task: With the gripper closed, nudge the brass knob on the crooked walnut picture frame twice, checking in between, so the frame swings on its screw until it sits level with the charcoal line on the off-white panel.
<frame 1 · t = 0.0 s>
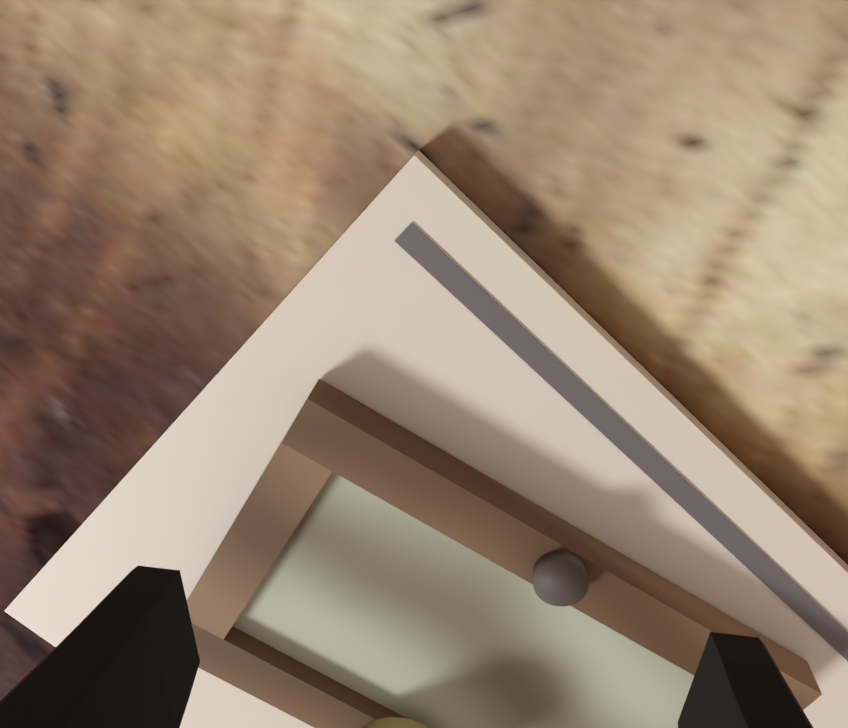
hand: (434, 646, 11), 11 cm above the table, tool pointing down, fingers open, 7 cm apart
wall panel: (450, 624, 24), on the table
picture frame: (464, 702, 21), point 3 cm above the table, hinge at 12.0°
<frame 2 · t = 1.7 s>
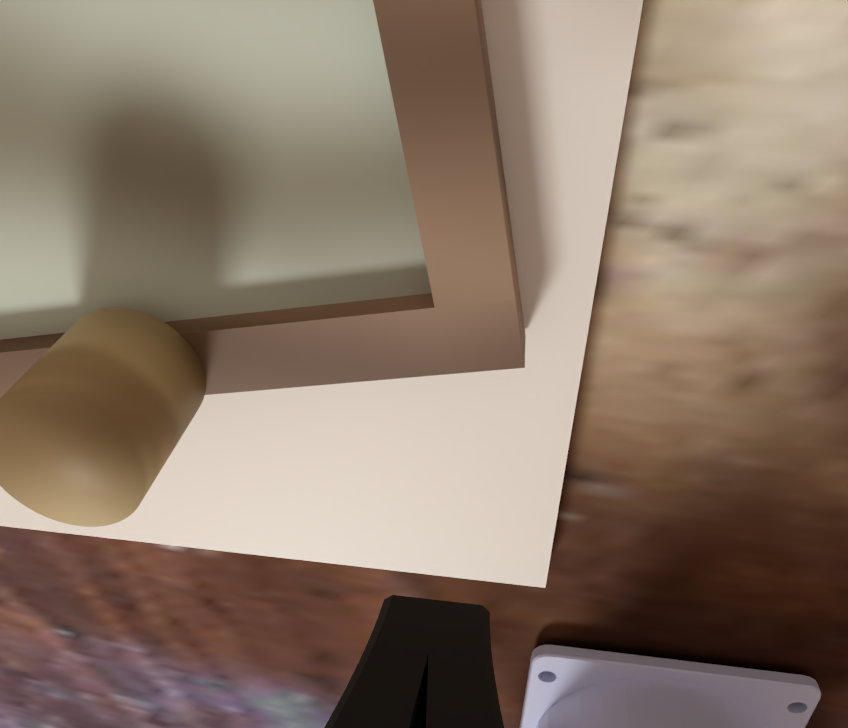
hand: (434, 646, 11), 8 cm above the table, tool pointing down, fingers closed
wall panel: (91, 177, 16), on the table
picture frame: (27, 213, 13), point 3 cm above the table, hinge at 12.0°
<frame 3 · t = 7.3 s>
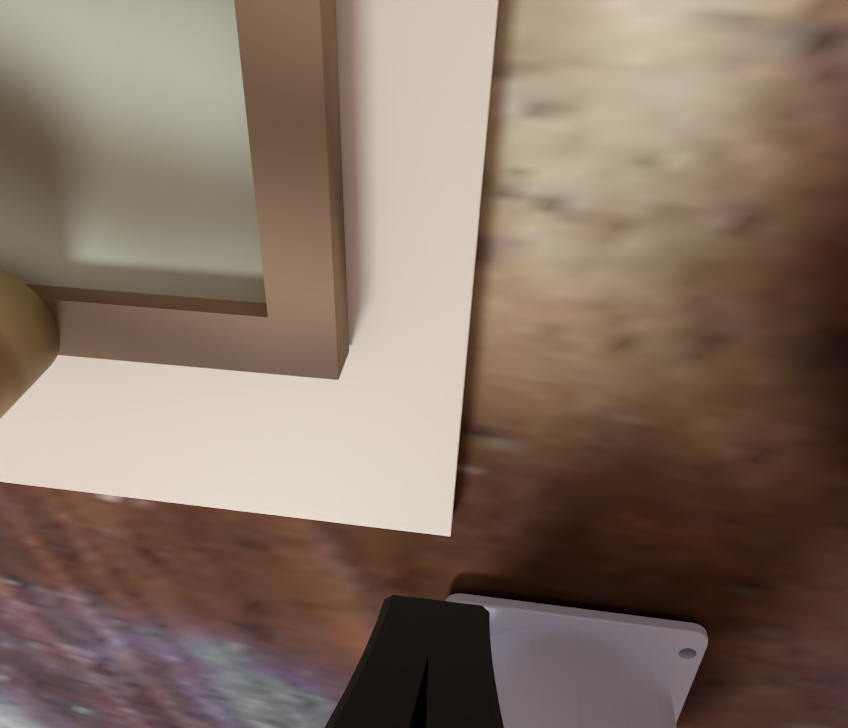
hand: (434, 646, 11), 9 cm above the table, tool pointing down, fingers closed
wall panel: (21, 145, 17), on the table
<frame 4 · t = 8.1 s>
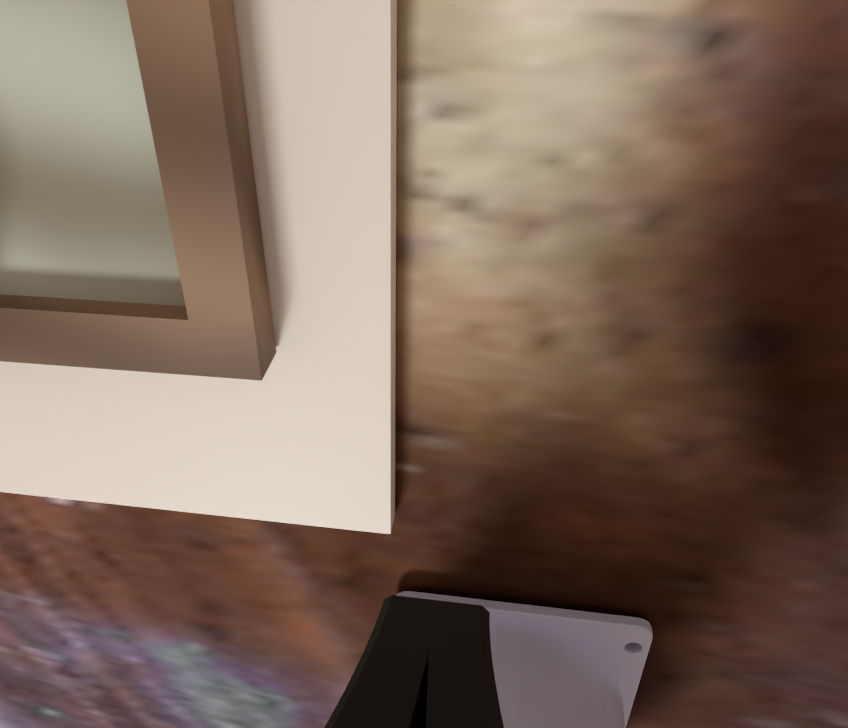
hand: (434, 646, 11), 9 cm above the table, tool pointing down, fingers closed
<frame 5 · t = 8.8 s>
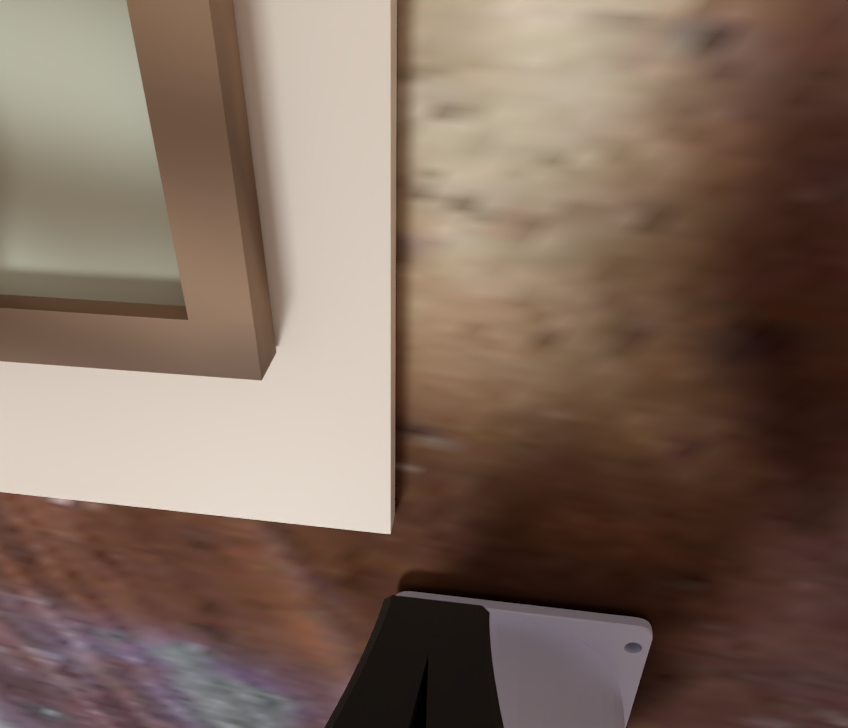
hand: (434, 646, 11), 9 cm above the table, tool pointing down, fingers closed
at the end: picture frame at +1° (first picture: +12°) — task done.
